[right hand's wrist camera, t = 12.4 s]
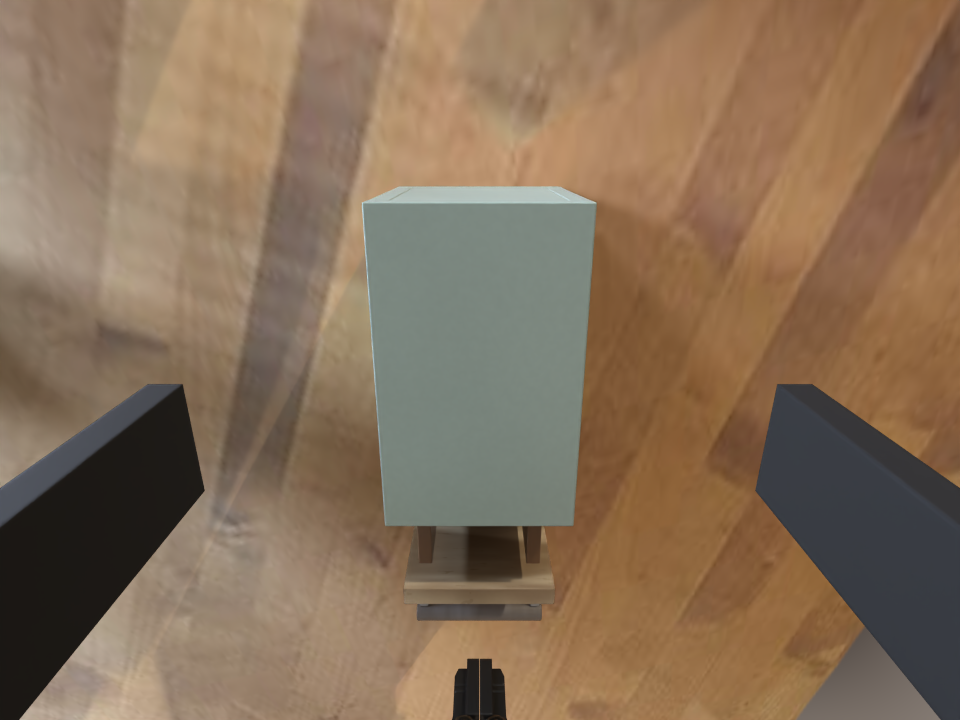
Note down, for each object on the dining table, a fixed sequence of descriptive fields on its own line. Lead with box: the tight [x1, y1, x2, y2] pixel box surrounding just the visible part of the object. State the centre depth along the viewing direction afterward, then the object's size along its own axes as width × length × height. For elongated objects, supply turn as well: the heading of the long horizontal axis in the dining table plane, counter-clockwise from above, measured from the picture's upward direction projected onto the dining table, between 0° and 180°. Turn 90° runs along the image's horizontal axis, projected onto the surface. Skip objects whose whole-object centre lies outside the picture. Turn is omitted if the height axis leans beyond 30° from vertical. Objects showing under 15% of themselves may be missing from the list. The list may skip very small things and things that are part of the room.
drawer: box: [404, 526, 555, 621], centre depth 36 cm, size 21×9×10 cm, turn 0°
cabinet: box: [362, 187, 597, 526], centre depth 32 cm, size 17×10×12 cm, turn 0°
